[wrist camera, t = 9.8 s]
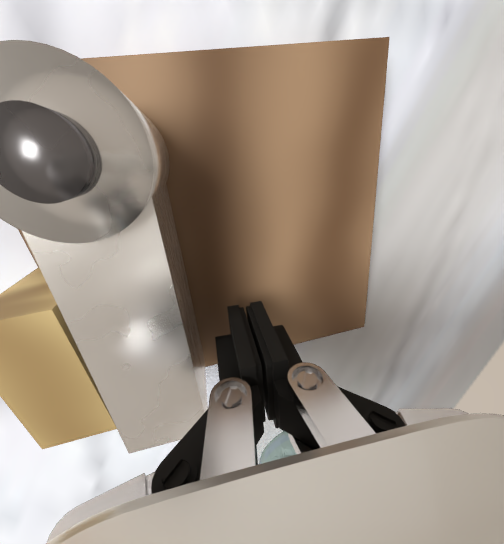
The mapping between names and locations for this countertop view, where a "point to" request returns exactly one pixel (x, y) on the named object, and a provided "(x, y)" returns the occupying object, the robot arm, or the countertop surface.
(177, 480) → the robot arm
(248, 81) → the lock base
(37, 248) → the latch bar
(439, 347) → the countertop surface
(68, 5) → the countertop surface
